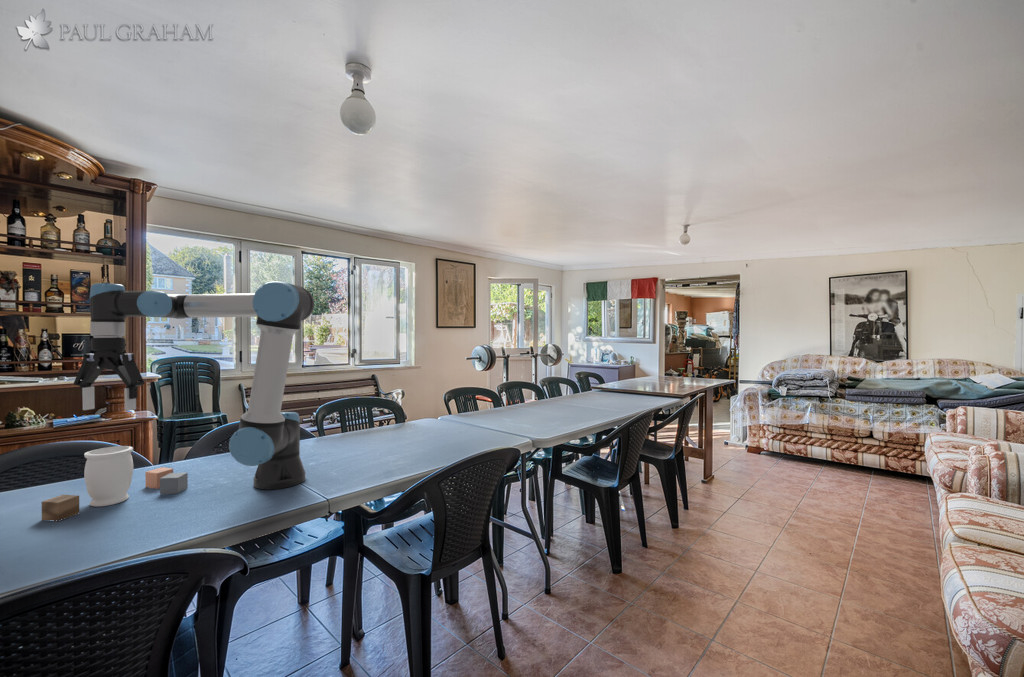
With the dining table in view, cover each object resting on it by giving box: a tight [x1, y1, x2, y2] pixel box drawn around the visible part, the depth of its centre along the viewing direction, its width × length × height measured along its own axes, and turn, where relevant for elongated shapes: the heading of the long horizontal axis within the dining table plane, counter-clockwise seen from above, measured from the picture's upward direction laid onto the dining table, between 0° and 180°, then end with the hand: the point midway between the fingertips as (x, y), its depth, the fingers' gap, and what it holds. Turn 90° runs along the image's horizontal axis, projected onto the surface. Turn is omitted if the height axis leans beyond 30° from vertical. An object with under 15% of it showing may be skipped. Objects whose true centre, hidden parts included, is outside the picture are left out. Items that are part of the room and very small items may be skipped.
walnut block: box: [41, 494, 80, 522], centre depth 118 cm, size 5×5×5 cm
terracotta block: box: [145, 466, 174, 490], centre depth 142 cm, size 5×5×5 cm
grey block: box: [159, 472, 189, 495], centre depth 137 cm, size 5×5×5 cm
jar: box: [83, 445, 134, 508], centre depth 128 cm, size 11×10×15 cm
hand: (109, 409), depth 129 cm, fingers open, 13 cm apart
